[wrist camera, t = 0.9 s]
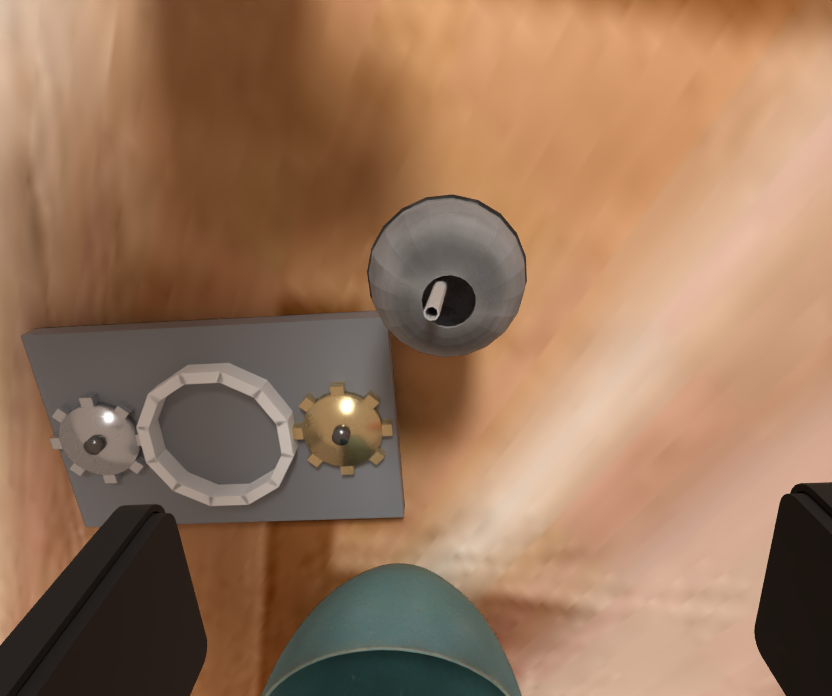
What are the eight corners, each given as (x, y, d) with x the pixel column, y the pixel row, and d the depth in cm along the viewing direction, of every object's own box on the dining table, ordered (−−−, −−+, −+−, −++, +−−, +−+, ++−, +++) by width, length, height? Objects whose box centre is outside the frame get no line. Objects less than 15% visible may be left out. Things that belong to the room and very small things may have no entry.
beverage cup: (426, 307, 38) (418, 479, 20) (365, 216, 36) (290, 310, 17) (520, 249, 36) (609, 376, 18) (462, 150, 34) (493, 176, 16)
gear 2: (288, 384, 39) (282, 394, 37) (388, 379, 39) (387, 389, 37) (302, 470, 41) (297, 482, 40) (396, 466, 41) (395, 479, 40)
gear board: (35, 328, 40) (5, 343, 37) (388, 310, 38) (384, 324, 35) (96, 514, 45) (74, 540, 43) (404, 504, 44) (402, 530, 41)
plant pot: (540, 643, 49) (572, 799, 38) (356, 700, 52) (334, 860, 41) (455, 482, 43) (462, 610, 32) (254, 559, 47) (196, 699, 35)
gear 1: (43, 395, 40) (28, 405, 38) (139, 390, 39) (128, 401, 38) (71, 478, 42) (58, 491, 41) (162, 475, 42) (152, 488, 40)
